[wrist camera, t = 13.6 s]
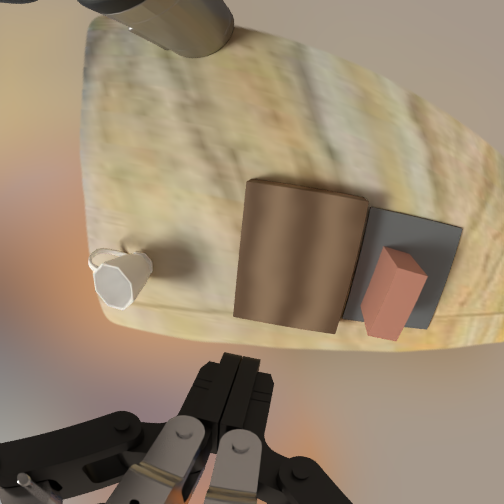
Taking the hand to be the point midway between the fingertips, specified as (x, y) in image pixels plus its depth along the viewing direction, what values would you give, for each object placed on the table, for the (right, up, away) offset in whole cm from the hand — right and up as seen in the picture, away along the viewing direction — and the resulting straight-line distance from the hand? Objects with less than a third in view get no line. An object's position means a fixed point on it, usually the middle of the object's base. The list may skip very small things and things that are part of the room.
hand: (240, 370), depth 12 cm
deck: (+6, +4, +26) cm, 28 cm away
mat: (+21, +2, +25) cm, 32 cm away
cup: (-18, +4, +32) cm, 36 cm away
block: (+16, 0, +22) cm, 27 cm away
